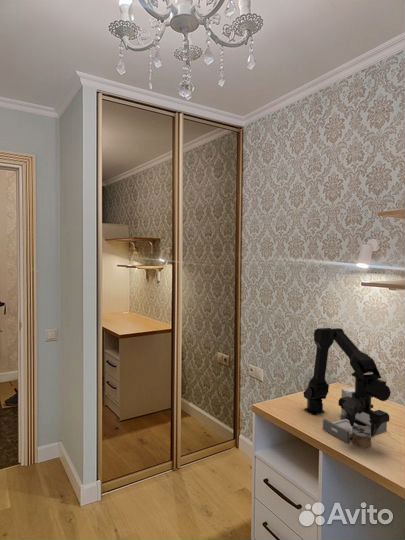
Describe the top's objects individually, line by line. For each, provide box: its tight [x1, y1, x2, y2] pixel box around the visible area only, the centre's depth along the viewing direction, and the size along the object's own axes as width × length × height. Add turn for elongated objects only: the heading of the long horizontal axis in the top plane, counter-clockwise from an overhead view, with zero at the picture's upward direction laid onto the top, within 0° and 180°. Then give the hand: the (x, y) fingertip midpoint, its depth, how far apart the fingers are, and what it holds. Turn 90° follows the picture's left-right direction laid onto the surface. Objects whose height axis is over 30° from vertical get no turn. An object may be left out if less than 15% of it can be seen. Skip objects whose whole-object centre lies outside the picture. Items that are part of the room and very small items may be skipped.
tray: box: [322, 418, 357, 444], centre depth 150 cm, size 12×12×4 cm
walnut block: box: [352, 434, 372, 449], centre depth 141 cm, size 4×4×4 cm
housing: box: [339, 412, 388, 436], centre depth 155 cm, size 13×12×5 cm
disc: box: [352, 425, 372, 439], centre depth 141 cm, size 7×7×2 cm
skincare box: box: [340, 387, 355, 414], centre depth 165 cm, size 6×4×12 cm
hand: (362, 431), depth 141 cm, fingers open, 9 cm apart
